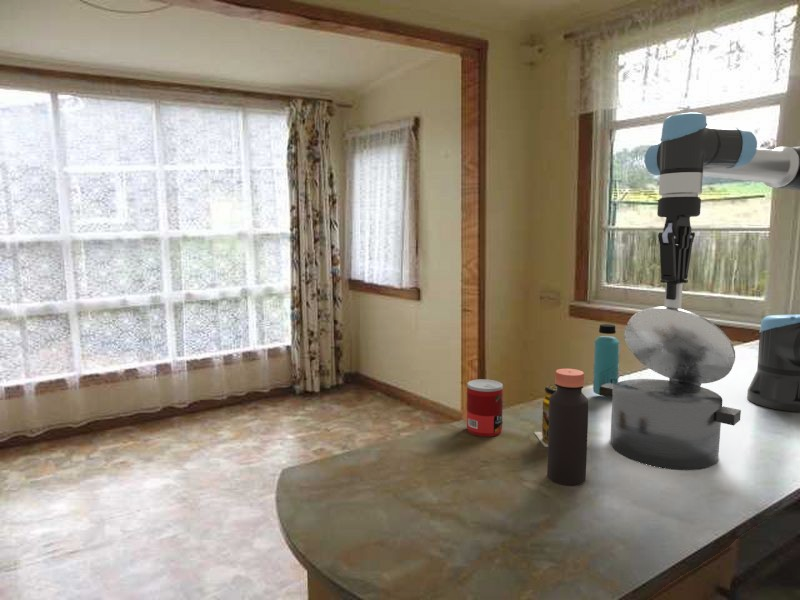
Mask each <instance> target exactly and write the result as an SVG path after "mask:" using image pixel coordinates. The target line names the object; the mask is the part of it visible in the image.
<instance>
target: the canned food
mask: <svg viewBox="0 0 800 600" xmlns="http://www.w3.org/2000/svg"><path fill="white" fill-rule="evenodd" d="M503 397H504V387H503V383H502V382H500V381H497V380H495V379H494V380H493V379H482V378H479V379H473V380H470V381H468V382H467V383H466V429H467V431H468V433H470V434H472V435H475V436H478V437H487V438H488V437H496V436H498V435H500V434H501V433H502V430H503V410H504V409H503V407H504V406H503V405H504V403H503V402H504V400H503V399H504V398H503Z"/></svg>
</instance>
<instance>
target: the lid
mask: <svg viewBox="0 0 800 600" xmlns="http://www.w3.org/2000/svg"><path fill="white" fill-rule="evenodd" d="M624 339H625V343H626V346H627V347H628V349H629V350H630V353H632V355H633V356H634V357H635V358H636V359H637V360H638V362H640V363H641V364H643V365H644V366H645V367H647V368H648V369H650V370H651V371H653V372H655V373H656V374H659V375H661V376H663V377H665V378H669V379H668V380H669V381H676V382H682V383H687V384H692V385H696V386H700V387H702V384H711V383H714V382H718V381H720V380H722V379H724V378H725V377H727V375H729V374H730V372H731V371H732V369H733V367H734V364H735V361H736V351H735V350H736V349H735V347H734V345H733V343H732V341H731V340H730V338H729V337H728V336H727V335H726V333H725V332H724V331H723V330H722V329H721V328H720V327H719V326H717V325H716V324H714V323H713V322H711V320H708V319H707V318H705V317H703V316H701V315H699V314H698V313H694V312H692V311H688V310H685V309H682V308H681V309H678V308H672V307H664V306H653V307H647V308H644V309H641V310H640V311H637V312H636V313H634V314H633V315H632V316H631V317H630V318H629V320H628V322H627V324H626V325H625V327H624Z"/></svg>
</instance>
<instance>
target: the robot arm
mask: <svg viewBox="0 0 800 600" xmlns="http://www.w3.org/2000/svg"><path fill="white" fill-rule="evenodd" d="M644 165H645V169H647V171H648V172H649V173H650V174H651V175H653V176H659V180H657V182H656V185H657V186H658V195H659V196H661V198H659V199H658V200H657V210H656V211H657V212H656V213H657V217H659V218H665V222H664V227H663V232H658V234H657V238H658V243H659V259H660V283H661V284H665V290H664V291H665V292H664V304H663V307H672V308H678V309H682V301H683V299H682V298H683V284H688V283H689V280H688V277H689V276H688V275H689V269H690V262H691V255H692V249H693V243H694V240H695V236H696V233H695V232H694V231H692V226H691V218H693V217H699V216H700V214H701V207H702V206H701V205H702V199H701V197H700V196H699V195H701V194H702V192H703V177H704V178H705V177H707V178H716V179H726V180H735V181H737V180H739V181H746V182H757V183H763V184H764V185H765V186H767V187H769V188H772V189H773V188H775V189H783V190H789V191H797V192H800V146H792V147H791V146H778V147H776V148H774V149H769V148H761V147H758V140H757V138H756V135H755V134H754V133H753V132H751V131H750V130H747V129H741V128H739V127H733V128H730V127H729V128H727V127H726V128H725V127H711V126H708V123H707V116H706V115H705V113H701V112H684V113H676V114H673V115H670V116H668V117H666V118H665V119H664V121H663V124H662V130H661V138H660V141H658V142H655V143H653V144H652V145H650V146H649V147H648V148H647V150H646V152H645V155H644ZM759 329H760V330H759V338H758V339H759V340H758V355H757V356H758V357H757V366H756V367H757V368H756V372H755V374H754V376H753V378H752V381H751V382H750V384H749V386H748V389H747V393H746V395H747V397H746V398H747V400H748V401H749V402H751V403H753V404H755V405H758V406H761V407H764V408H768V409H774V410H777V411H778V410H779V411H786V412H797V413H800V314H799V313H798V314H795V313H794V314H774V315H773V314H771V315H767V316H764V317H763V318H762V319H761V323H760V328H759Z"/></svg>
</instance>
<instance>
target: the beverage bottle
mask: <svg viewBox="0 0 800 600" xmlns="http://www.w3.org/2000/svg"><path fill="white" fill-rule="evenodd" d="M616 331H617V330H616V325H615V324H609V323H602V324H600V325H599V329H598V333H600V334H606V335H600V336H598V337H597V338H596V339H595V340H594V355H593V356H594V357H593V358H594V359H593V360H594V361H593V372H592V373H593V375H592V376H593V377H592V378H593V379H592V391H593V393H594V394H596V395H599V389H600V386H601V385H604V384H606V383H612V384H616V383H618V382H619V379H620V377H619V375H620V374H619V371H620V370H619V368H620V367H619V365H620V342H621V341H619V339H617V338H616V337H615V336H609V335H610V334H611V335H613V334H616V333H617V332H616Z"/></svg>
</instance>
